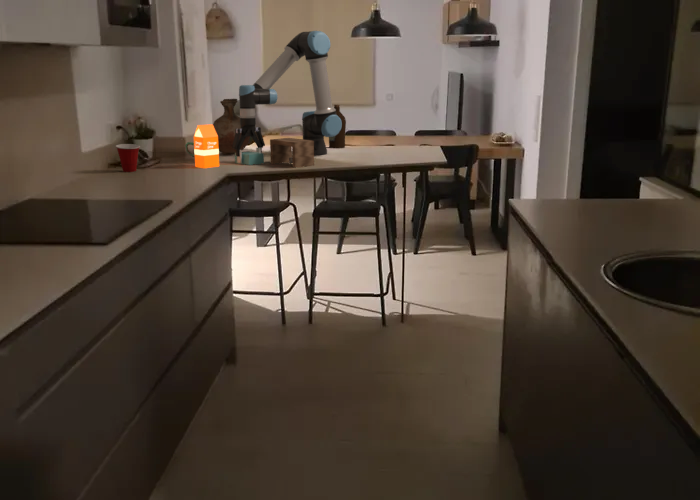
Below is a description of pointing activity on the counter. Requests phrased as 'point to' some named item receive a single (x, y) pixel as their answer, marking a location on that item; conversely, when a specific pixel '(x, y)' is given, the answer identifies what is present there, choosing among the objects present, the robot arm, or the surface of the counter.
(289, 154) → the shelf
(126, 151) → the plastic cup
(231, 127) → the jug
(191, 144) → the mug
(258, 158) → the teal rectangular block
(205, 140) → the orange juice
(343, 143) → the olive oil
